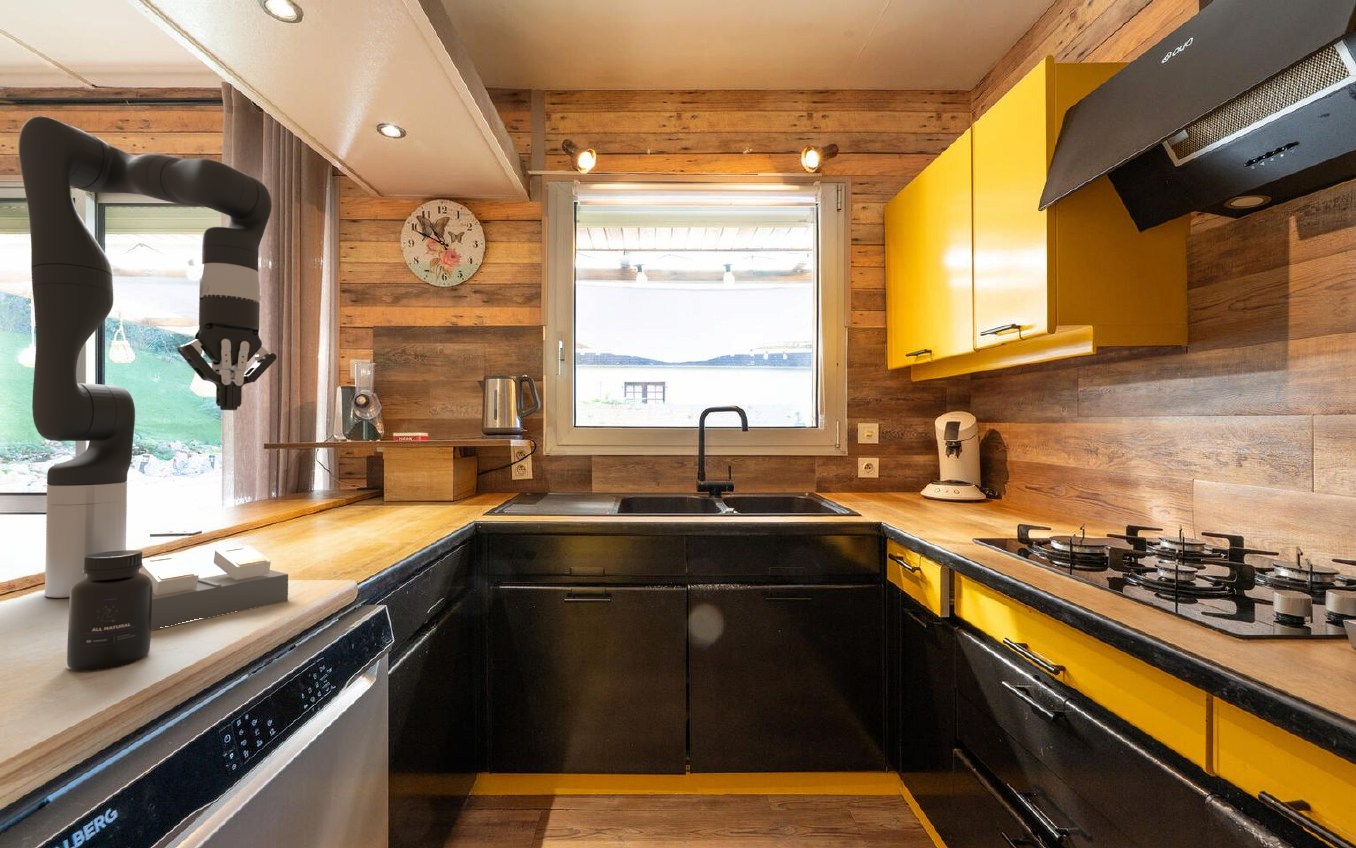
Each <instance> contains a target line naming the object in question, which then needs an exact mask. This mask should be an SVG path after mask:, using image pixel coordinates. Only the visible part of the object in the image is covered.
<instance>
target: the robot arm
mask: <svg viewBox="0 0 1356 848" xmlns="http://www.w3.org/2000/svg"><path fill="white" fill-rule="evenodd" d="M17 146H18V159H19V165H20V172H21V178H22V182H23V187H24V193H25V198H26V203H27V209H28V210H27V211H28V221H29V230H30V232H29V233H30V243H31V244H30V245H31V246H30V247H31V251H30V252H31V254H30V255H31V256H30V257H31V259H30V260H31V261H30V262H31V263H30V264H31V265H30V269H31V287H32V298H33V299H32V300H33V307H34V322H35V325H34V327H35V358H34V359H35V360H34V371H33V382H32V383H33V387H32V400H31V402H32V404H31V405H32V409H31V412H32V419H33V423H34V426H35V429H36V430H37V433H38V434H39V436H41V437H42V438H44V439H46V440H48V441H53V442H88V446H87V448H86V449H85V451H84V452H83V453H81V454H80V455H78V456H76V457H74V458H72V459H69V460H66V461H63V462H60V463H58V464H54V465H52V466H50V467H49V469H48V470H47V475H46V484H47V485H46V518H45V519H46V522H45V525H46V527H45V570H44V572H45V573H44V581H45V582H44V596H45V597H47V598H70V591H71V589H72V587H73V586H74V585H75V584H76V583H78V582H79V581H81V580H83V579H84V578H86V574H84V573H83V568H84V558H85V556H87V555H90V554H95V553H101V552H109V551H122V550H127V511H128V508H127V507H128V502H127V501H128V499H127V498H128V495H127V493H128V490H127V489H128V473H129V470H130V467H131V465H132V460H133V459H132V458H133V446H134V445H133V444H134V433H135V425H136V423H135V422H136V407H135V402H134V399H133V396H132V395H131V393H130V391H129V390H127V389H126V388H124V387H122V386H119V385H112V384H100V383H99V384H98V383H84V382H77V367H78V360H79V356H80V353H81V351H82V348H83V347H84V346H85V344H86V343H87V341H88V340H89V338H90V337H92V335H93V334H94V333H95V332H96V331H97V329H98V328H99V327H100V326H101V325H102V324H103V323H104V321H105V320H106V318H107V317H108V316H109V314H110V312H112V308H113V306H114V286H113V285H114V284H113V272H112V271H113V270H112V267H111V266H112V265H111V263H110V260H109V259H108V256H107V254H106V252H105V251H104V249H103V248H102V246H100V245H101V244H99V242H98V241H97V239H96V237H94V235H93V234H92V232H91V230H90V229H89V227H87V225H86V223H85V222H84V220H83V219H82V217H81V216H80V213H79V211H78V210H77V207H76V205H75V202H74V201H75V200H74V198H73V193H72V188H74V189H78V190H81V191H84V192H87V193H88V192H89V193H100V194H132V195H140V196H145V197H150V198H152V199H157V200H160V201H165V202H169V203H173V204H178V205H181V206H182V205H183V206H188V207H204V208H208V209H211V210H214V211H216V212H219V213H221V214H223V215H226V216H229V222H228V225H227V226H212V227H208V228H206V229H205V230H204V232H203V234H202V244H201V245H202V248H201V252H202V253H201V270H200V276H199V286H198V287H199V290H198V292H199V295H198V298H199V300H198V331H197V332H196V333H195V336H194V340H192V341H190V342H188V343H186V344H182V345H179V346H178V347H177V352H178V353H179V354H180V356H181V357H182V358H183V359H184V360H185V361H186V362H187V364H188V365H189V366H190V367H191V368H192V370H193V371H195V373H196V374H197V376H199V378H200V379H201V380H202V381H208V382H210V383H213V384H214V385H215V388H216V389H215V404H216V406H217V407H219V409H220V410H221V411H237V410H238V407H239V408H240V407H241V405H242V401H243V399H242V396H243V395H242V391H243V390H242V389H243V386H244V385H247V384H251V383H255V382H256V381H257V380H258V379H259V378H261V376H262V375H263V374H264V372H266V371H267V370H268V368H270V366H271V365H273V363H274V362H275V361H276V360H277V357H278V356H277V355H276V354H275V353H274V352H271V353H270V352H269V351H268V350H266V348H264V347H263V346H262V345H263V342H262V340H261V338H260V333H259V332H260V315H261V314H260V313H261V312H260V311H261V309H260V308H261V303H260V302H261V299H262V298H261V286H260V277H259V248H260V244H261V241H262V238H263V236H264V233H265V230H266V227H267V225H268V222H269V219H270V216H271V212H272V208H273V207H272V198H271V195H270V192H269V190H268V188H267V187H266V186H265V184H264V183H263V182H261V181H260V180H259V179H257V178H255V177H253V176H252V175H249V174H246V173H245V172H242V171H241V170H239V169H236V168H234V167H232V166H230V165H227V164H225V163H223V162H219V161H217V160H213V159H209V158H190V159H187V158H183V157H176V156H174V155H168V154H162V153H156V152H155V153H152V152H151V153H149V152H148V153H143V154H142V153H141V154H139V155H136V154H135V155H134V154H132V153H128V152H126V151H124V150H122V149H120V148H117V147H115V146H113V145H111V144H110V143H108V142H106V141H104V140H102V139H101V138H99V137H98V136H95V135H93V134H91V133H89V132H86V131H83V130H82V129H79V128H77V127H74V126H73V125H70V124H67V123H65V122H63V121H60V120H58V119H55V118H52V117H49V116H45V115H36V116H33V117H30V118H29V119H28V120H27V121H25V123H24V124H23V126H22V127H21V130H20V132H19V138H18V145H17ZM71 187H72V188H71ZM203 352H204V353H205V355H206V356H207V357H208V358H209V360H210V361H211V365H210V364H209V363H208V361H206V360H205V358H204V357H203V356H202V354H203ZM253 357H254V360H255V362H254V363H252V365H250V367H249V368H248V369H247V366H248V365H247V364H248V362H249V361H251V360H252V359H253Z"/></svg>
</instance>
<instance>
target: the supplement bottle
mask: <svg viewBox="0 0 1356 848" xmlns="http://www.w3.org/2000/svg"><path fill="white" fill-rule="evenodd" d="M142 559H143V551H141V550H136V549H134V550H133V549H131V550H130V549H128V550H127V549H126V550H122V551H109V552H101V553H95V554H90V555H87V556H85V558H84V568H83V573H84V574H86V578H84V579H83V580H81V581H79V582H78V583H76V584H75V585H74V586H73V587H72V589H71V591H70V597H69V603H68V605H69V606H68V625H67V626H68V627H67V630H68V631H67V647H66V651H67V652H66V655H67V656H66V664H67V667H68V668H69V669H71V670H72V671H77V672H95V671H104V670H108V669H113V668H119V667H123V666H127V665H130V663H131V664H133V663H136V662H138V661H140V660H143V659H144V658H145V657H147V656H148V655H149V653H150V650H151V638H152V637H151V636H152V635H151V634H152V631H151V617H152V592H153V582H152V580H151V578H150V577H149V576H147V575H145V574H143V573H140V568H142V567H143V563H142Z"/></svg>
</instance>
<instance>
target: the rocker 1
mask: <svg viewBox="0 0 1356 848" xmlns="http://www.w3.org/2000/svg"><path fill="white" fill-rule="evenodd" d="M142 563H143V567H142V568H140V573H143V574H145V575H147V576H149V577H150V578H151V580H152V582H153V593H154V594H155V595H156V596H157V595H163V594H168V593H174V592H179V591H185V590H190V589H196V588H197V582H198V578H199V575H200V574H198V573H197V572H196V571H195V570H194V569H193V568H192V566H191V565H189V564H188V563H187V561H185V559H183V557H181V555H180V554H178V553H175V554H168V555H163V556H162V555H160V556H155V557H149V558H148V557H147V558H142Z"/></svg>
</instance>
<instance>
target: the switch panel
mask: <svg viewBox="0 0 1356 848" xmlns="http://www.w3.org/2000/svg"><path fill="white" fill-rule="evenodd" d="M288 595H289V574H288V573H284V572H280V571H276V570H272V569H270V570H269V574H266V575H260V576H255V577H249V578H244V579H238V580H235V579H233V578H232V577H231V576H230V575H228V574H227V573H224V574H218V575H213V576H207V577H202V578H201V577H198V582H197V588H196V589H190V590H185V591H179V592H174V593H168V594H163V595H157V596H156V595H155V594H154V593H153V592H152V617H151V630H152V631H154V630H153V629H157V630H159V629H158V628H160V627H165V626H170V627H172V626H171V625H175V624H178V623H182V622H186V621H190V620H194V619H199V618H206V619H209V618H208V617H211V618H214V617H213V616H216V617H218V616H217V615H220V616H223V615H222V614H225V615H228V614H227V613H229V614H232V613H231V612H234V613H236V612H235V611H238V612H241V611H242V610H243V611H246V610H250V608H252V609H256V608H259V606H261V607H265V606H268V605H269V604H270V605H273V604H278V603H282V602H288V600H289V596H288ZM255 607H256V608H255ZM175 626H176V625H175Z"/></svg>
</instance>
